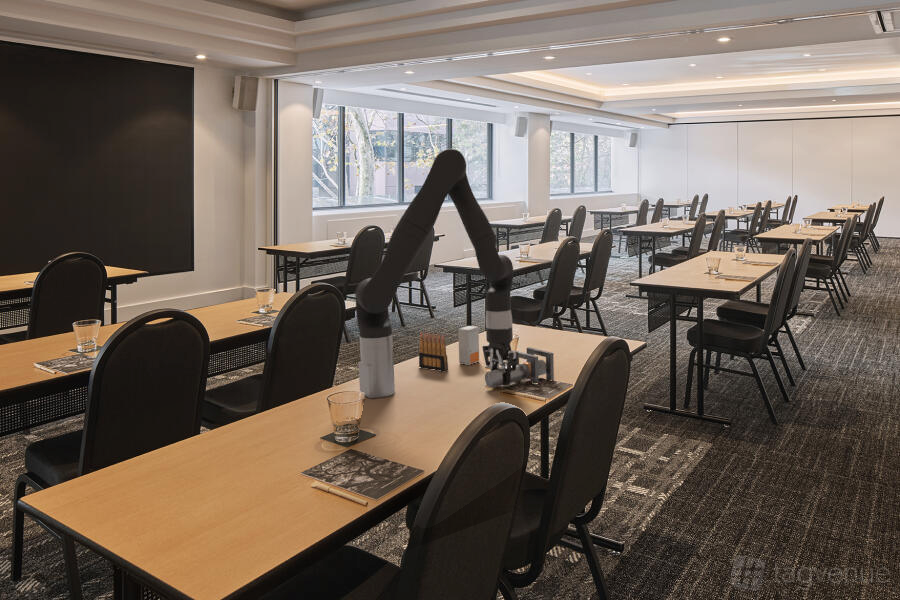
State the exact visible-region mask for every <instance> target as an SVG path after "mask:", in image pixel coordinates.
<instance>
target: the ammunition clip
mask: <svg viewBox="0 0 900 600" xmlns="http://www.w3.org/2000/svg"><path fill="white" fill-rule="evenodd" d="M448 363H449V362H448V355H447V346H446V339H445V335H444V334H443V333H442V335H441V336H440V334H439V333H437V336H436V334H435V333H432V334H431V332H429V333H428V334H427V332H426V331H425V332H424V334H423V331H420V334H419V352H418V368H419V367H421V368H420V369H423V368H428V369H427V370H429V369H435V370H441V371H440V372H442V371H446V370H448V371H449V364H448ZM435 370H434V371H435ZM446 372H447V371H446Z"/></svg>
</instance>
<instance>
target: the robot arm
mask: <svg viewBox="0 0 900 600" xmlns="http://www.w3.org/2000/svg"><path fill="white" fill-rule="evenodd" d="M469 182H470V181H469V178H468V175H467V162H466V158H465V156H464V155H463V153H462V152H461V151H459V150H458V149H455V148H447V149H444V150H442V151H441V152H439V153H438V154H437V155H436V157H435V158H434V160H433V163H432V165H431V167H430V169H429V171H428V174H427V176H426V178H425V181H424V182H423V184H422V186H421V188H420V189H419V191H418V192H417V194H416V195H415V197H414V198H413V199H412V201H411V202H410V203H409V205H408V207H407V208H406V210H405V211H404V213H403V214H402V216H401V217H400V219H399V221H398V222H397V224H396V226H395V228H394V230H393V231H392V233H391V236H390V238H389V241H388V243H387V247H386V250H385V253H384V256H383V259H382V261H381V263H380V264H379V266H378V268H377V270H376V271H375V272H374V274H373V275H372V276H371V277H369V278H366V279H365V278H364V279H363V280H362V281H360V283H358V285H357V287H356V289H355V296H354V297H355V309H356V322H357V326H358V332H359V347H360V348H359V350H360V351H359V352H360V361H359V362H358V366H357V367H358V381H359V392H360V391H361V392H364V393H365V396H364V397H367V398H368V399H374V398H386V397H390V396H392V395H394V394H396V390H395V389H396V384H395V365H394V349H393V348H394V347H393V331H392V330H393V329H392V323H391V320H390V314H389V307H390V305H391V303H392V301H393V300H394V297H395V295H396V294H397V291H398V289H399V286H400V284H401V282H402V280H403V278H404V276H405V275H406V272H407V271H408V270H409V268H410V267H411V266H412V264H413V262H414V261H415V260H416V257H418V254H419V252H420V251H421V250H422V248H423V246H424V245H425V243H426V241H427V239H428V238H429V236H430V235H431V232H432V230H433V228H434V226H435V224H436V221H437V220H438V217H439V214H440V212H441V208H442V206H443V204H444V202H445V200H446V199H447V197H448V195H449V197H450V200H451V201H452V202H453V205H454V206H455V209H456V211H457V214H458V215H459V218H460V220H461V223H462V225H463V227H464V230H465V231H466V234H467V236H468V238H469V240H470V243H471V244H472V247H473V248H474V252H475V257H476V261H477V265H478V269H479V270H480V273H481V275H482V276H483V278H484V279H486V280H487V281H489V282H490V284H489V288H488V290H487V291H486V295H485V307H486V308H485V309H486V312H485V313H486V314H485V327H486V328H485V337H486V339H485V340H486V342H487V343H488V344H486V345H482V347H481V348H482V352H483V358H484V361H485V365H486V366H487V367H489V369H490V371H493V370H497V369H499V365H500V366H501V369H502V370H503V373H502V375H503V385H502V386H509V385H510V384H511V383H510V382H511V380H510V379H511V376H510V373H511V371H515V370H516V365H517V359H518V352H513V351H514V350H512V346H511V342H513V340H514V339H513V337H514V336H513V315H512V307H511V306H512V301H511V300H512V299H511V298H512V297H511V291H512V287H513V285H512V284H513V279H514V265H513V262H512V260H511V259H510V257H509V256H507V255H504V254H499V253H498V249H497V246H496V245H497V243H498V237H497V236H496V234H495V231H494V230H493V227H492V225H491V223H490V221H489V219H488V217H487V215H486V214H485V212H484V210H483V208H482V207H481V205H480V203H479V202H478V201H477V199H476V197H475V194H474V192H473V190H472V188H471V185H470V183H469ZM511 366H512V367H511ZM506 367H507V368H506Z"/></svg>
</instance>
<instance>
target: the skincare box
mask: <svg viewBox="0 0 900 600" xmlns="http://www.w3.org/2000/svg"><path fill="white" fill-rule="evenodd" d="M457 331H458V333H457V334H458V335H457V336H458V337H457V338H458V361H459V362H458V363H460V364H459V365H461V364H465V365H464V366H468V365H469V366H471V364H472V365H474V364H473V363H475V364H477V362H478V363H479V362H480V344H479V343H480V338H479V337H480V336H479V326H474V325H467V326H463V327H461V328H458V329H457Z"/></svg>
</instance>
